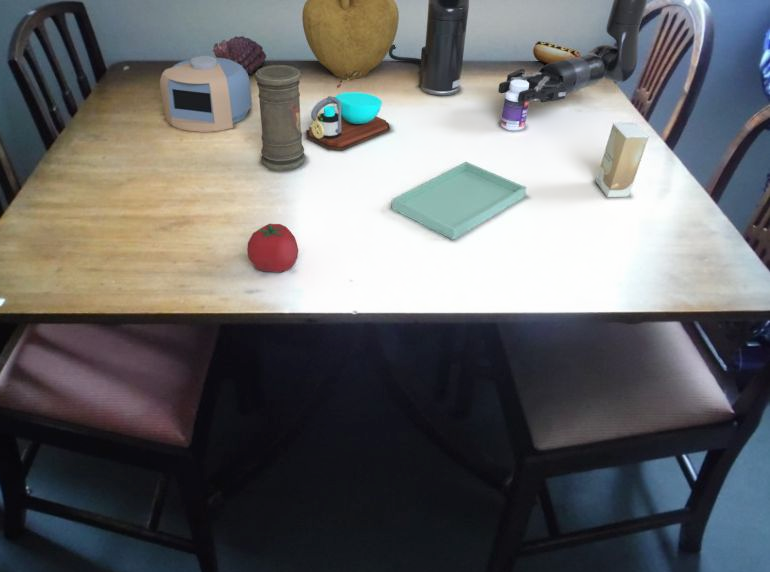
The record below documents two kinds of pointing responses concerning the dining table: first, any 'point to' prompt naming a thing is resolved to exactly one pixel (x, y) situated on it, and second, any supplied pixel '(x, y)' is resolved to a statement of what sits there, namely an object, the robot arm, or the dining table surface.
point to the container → (280, 117)
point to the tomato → (273, 248)
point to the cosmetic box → (621, 159)
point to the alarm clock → (205, 94)
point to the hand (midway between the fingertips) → (509, 93)
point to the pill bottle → (514, 106)
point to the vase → (350, 33)
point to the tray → (458, 199)
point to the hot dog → (552, 52)
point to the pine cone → (241, 52)
